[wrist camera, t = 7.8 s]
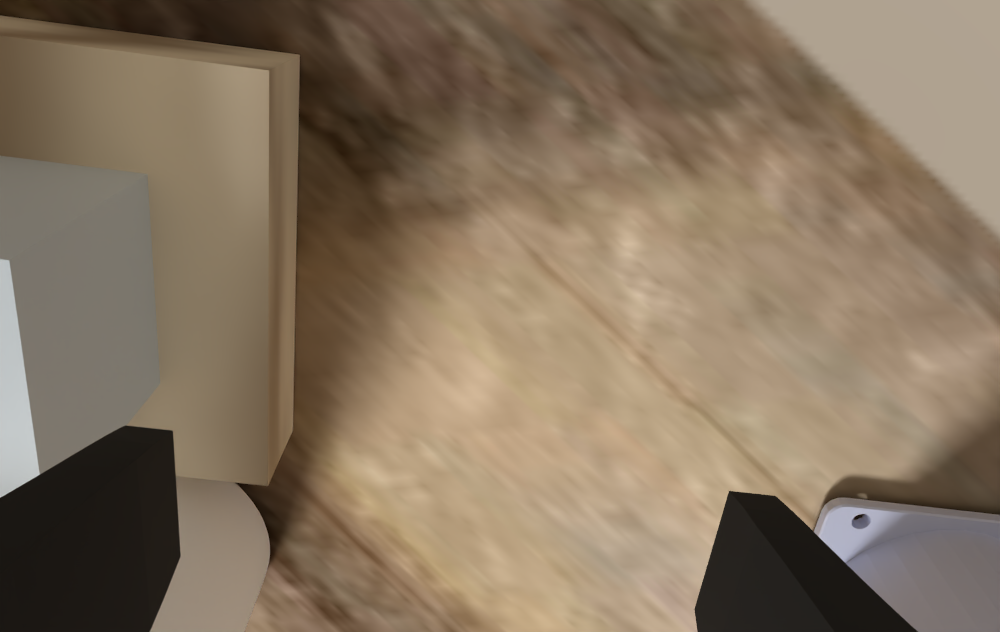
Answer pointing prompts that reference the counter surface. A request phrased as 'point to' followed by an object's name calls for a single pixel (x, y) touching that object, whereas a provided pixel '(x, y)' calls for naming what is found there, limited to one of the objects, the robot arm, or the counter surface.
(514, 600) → the counter surface
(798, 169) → the counter surface
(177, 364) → the base
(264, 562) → the can
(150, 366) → the block
